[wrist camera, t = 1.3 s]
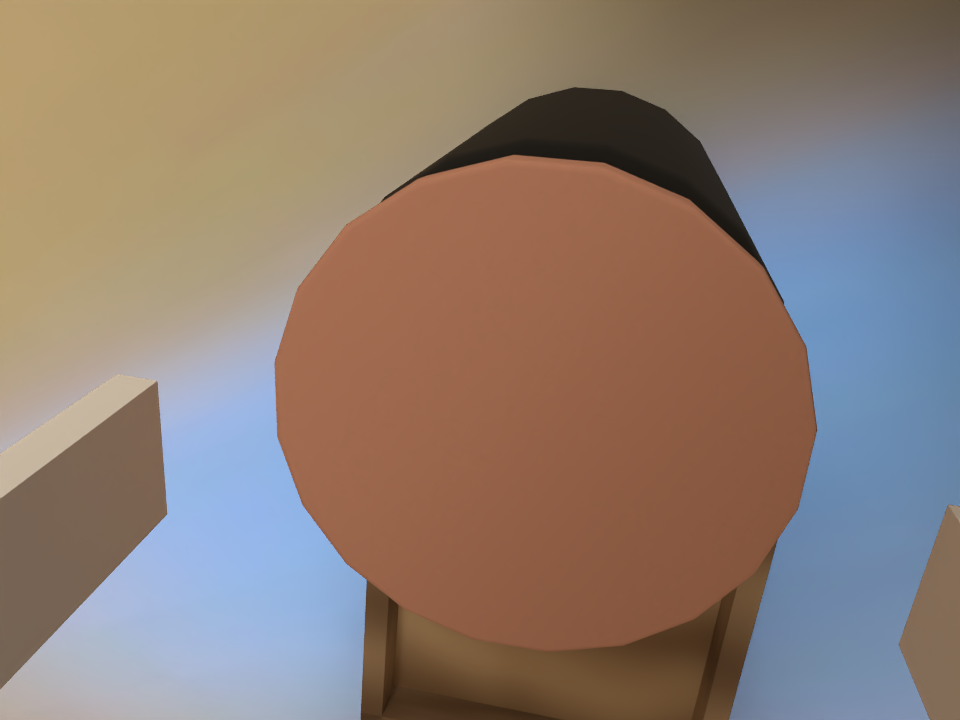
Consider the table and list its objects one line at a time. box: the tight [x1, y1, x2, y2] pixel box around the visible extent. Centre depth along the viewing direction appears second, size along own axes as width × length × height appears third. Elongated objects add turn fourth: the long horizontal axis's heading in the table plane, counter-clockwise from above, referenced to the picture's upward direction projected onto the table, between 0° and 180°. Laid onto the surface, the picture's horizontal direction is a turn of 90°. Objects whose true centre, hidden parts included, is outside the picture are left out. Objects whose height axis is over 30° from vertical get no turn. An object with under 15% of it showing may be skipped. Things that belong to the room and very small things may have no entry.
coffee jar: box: [275, 87, 817, 652], centre depth 24 cm, size 11×11×18 cm
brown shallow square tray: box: [361, 539, 778, 720], centre depth 37 cm, size 15×16×4 cm
